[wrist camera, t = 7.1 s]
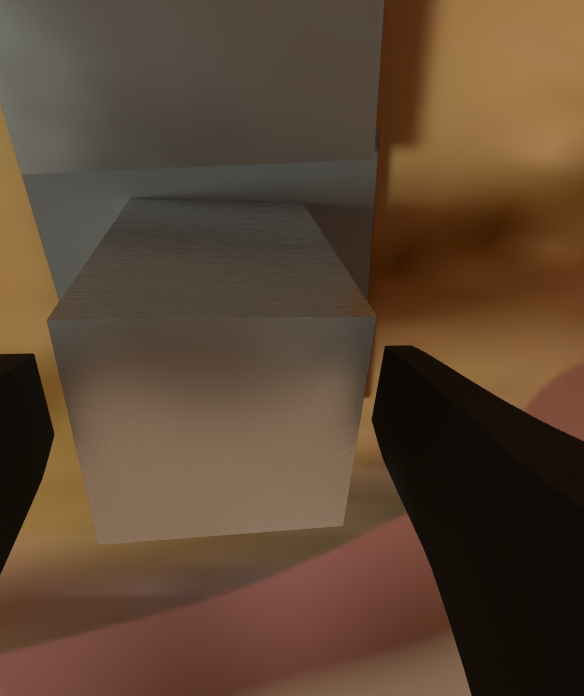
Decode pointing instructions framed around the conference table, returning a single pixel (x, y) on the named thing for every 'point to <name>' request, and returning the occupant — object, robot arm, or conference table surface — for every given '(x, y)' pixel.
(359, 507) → the conference table surface
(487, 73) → the conference table surface
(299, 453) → the pale grey square block
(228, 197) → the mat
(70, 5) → the rail
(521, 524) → the robot arm
